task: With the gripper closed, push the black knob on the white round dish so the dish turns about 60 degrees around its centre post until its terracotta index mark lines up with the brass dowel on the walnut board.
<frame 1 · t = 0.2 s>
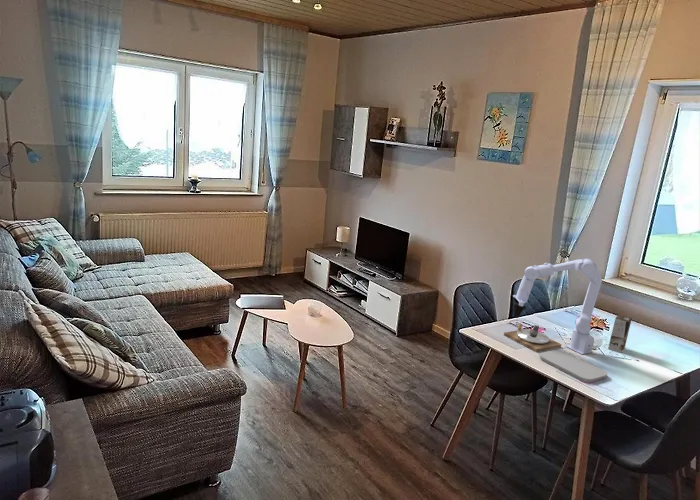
hand: (515, 314, 252), 11 cm above the table, tool pointing down, fingers open, 7 cm apart
white round dish: (533, 333, 247), point 4 cm above the table, hinge at 0.0°
base board: (531, 341, 248), on the table
tablet: (571, 368, 223), on the table
coffee box: (616, 348, 250), on the table
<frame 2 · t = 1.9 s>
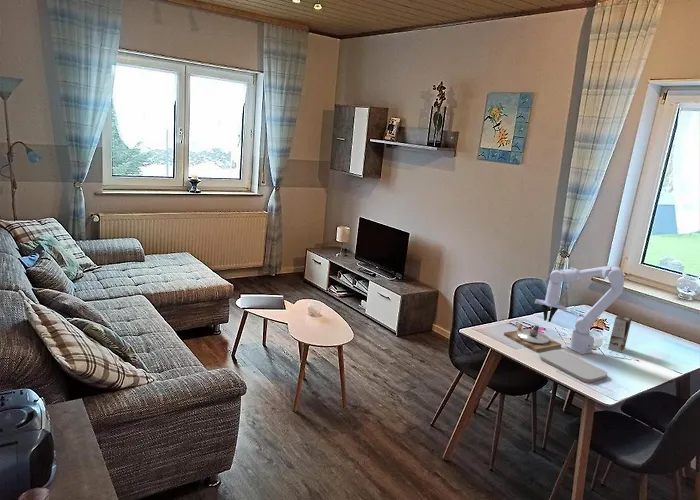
hand: (547, 320, 248), 10 cm above the table, tool pointing down, fingers closed
nothing on the table moved.
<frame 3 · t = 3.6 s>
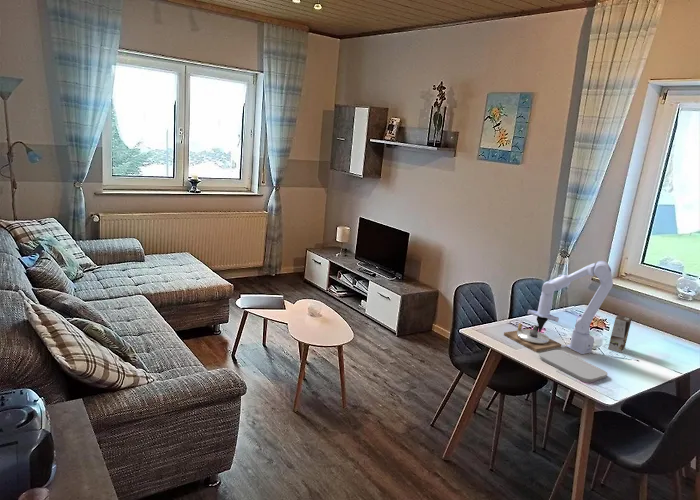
hand: (539, 331, 251), 4 cm above the table, tool pointing down, fingers closed, pressing on white round dish
white round dish: (533, 333, 247), point 4 cm above the table, hinge at 0.6°, touching gripper
everything else where it was.
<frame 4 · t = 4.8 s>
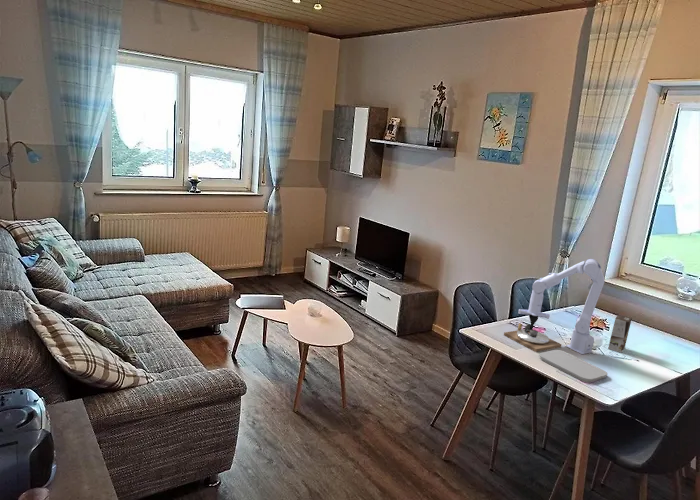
hand: (530, 329, 253), 4 cm above the table, tool pointing down, fingers closed, pressing on white round dish
white round dish: (533, 333, 247), point 4 cm above the table, hinge at 41.9°, touching gripper
everything else where it was.
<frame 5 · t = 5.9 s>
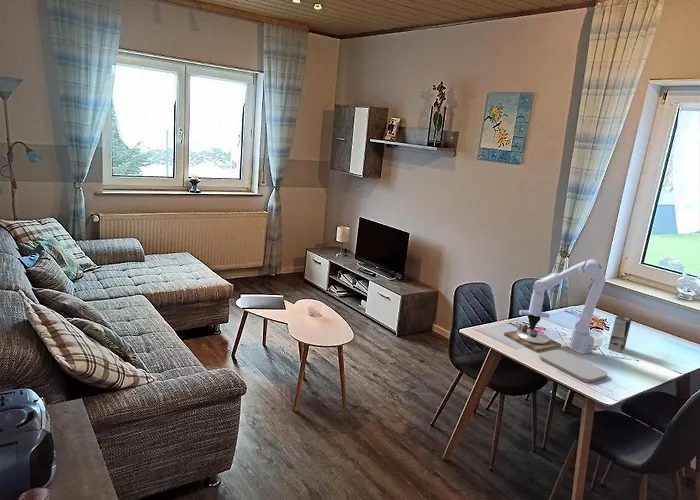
hand: (531, 329, 253), 4 cm above the table, tool pointing down, fingers closed
white round dish: (533, 333, 247), point 4 cm above the table, hinge at 61.3°
everything else where it was.
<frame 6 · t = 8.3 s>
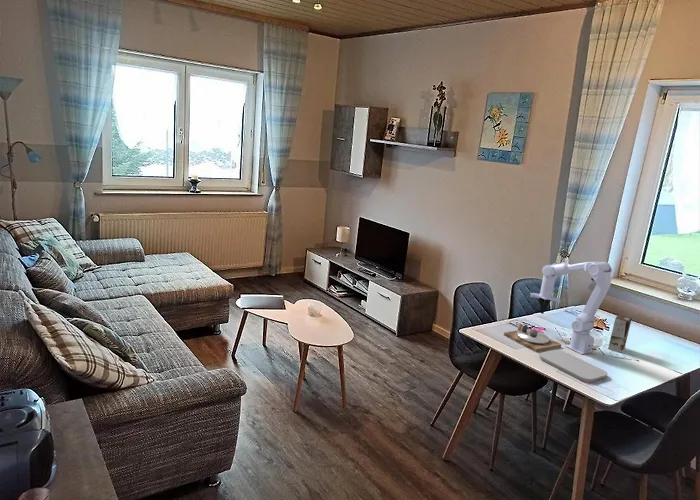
hand: (542, 313, 260), 10 cm above the table, tool pointing down, fingers closed
nothing on the table moved.
at the end: white round dish at +61° (first picture: +0°) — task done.
